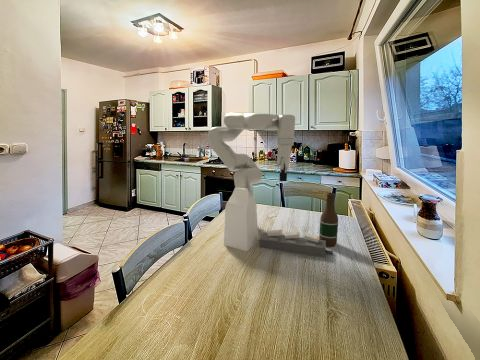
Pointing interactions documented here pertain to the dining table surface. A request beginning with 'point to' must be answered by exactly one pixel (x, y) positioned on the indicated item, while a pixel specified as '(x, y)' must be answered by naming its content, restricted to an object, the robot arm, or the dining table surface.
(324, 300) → the dining table surface
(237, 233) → the milk
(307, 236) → the rocker
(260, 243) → the power strip
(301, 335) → the dining table surface
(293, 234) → the rocker mid
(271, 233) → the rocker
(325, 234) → the beer bottle
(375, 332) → the dining table surface
